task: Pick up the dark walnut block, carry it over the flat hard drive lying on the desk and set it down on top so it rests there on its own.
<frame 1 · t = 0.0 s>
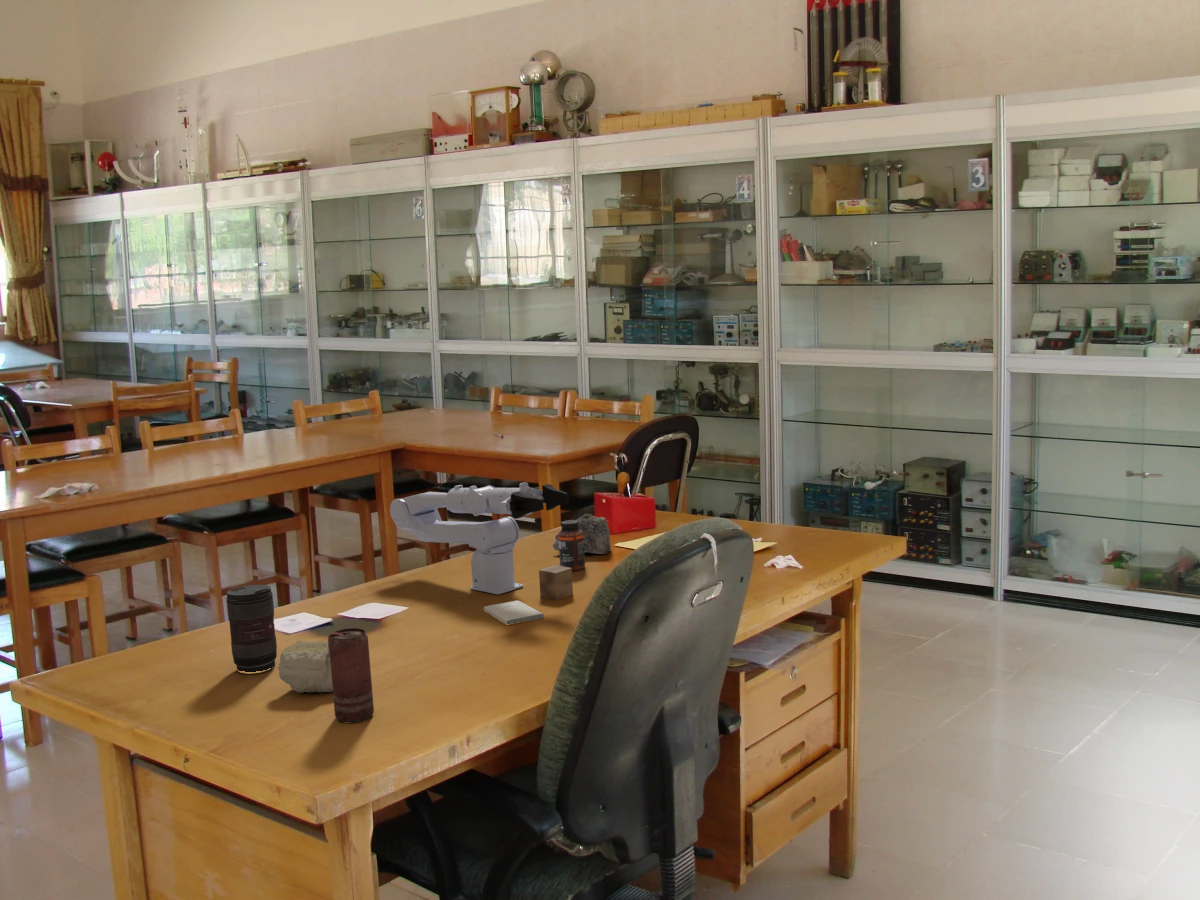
hand: (555, 501, 241), 22 cm above the table, tool horizontal, fingers open, 7 cm apart
can: (354, 717, 185), on the table
supplement bottle: (572, 569, 272), on the table
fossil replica: (317, 690, 199), on the table
external hard drive: (513, 617, 237), on the table
walnut block: (556, 595, 250), on the table
mineral rock: (584, 553, 287), on the table
camera lens: (256, 669, 211), on the table
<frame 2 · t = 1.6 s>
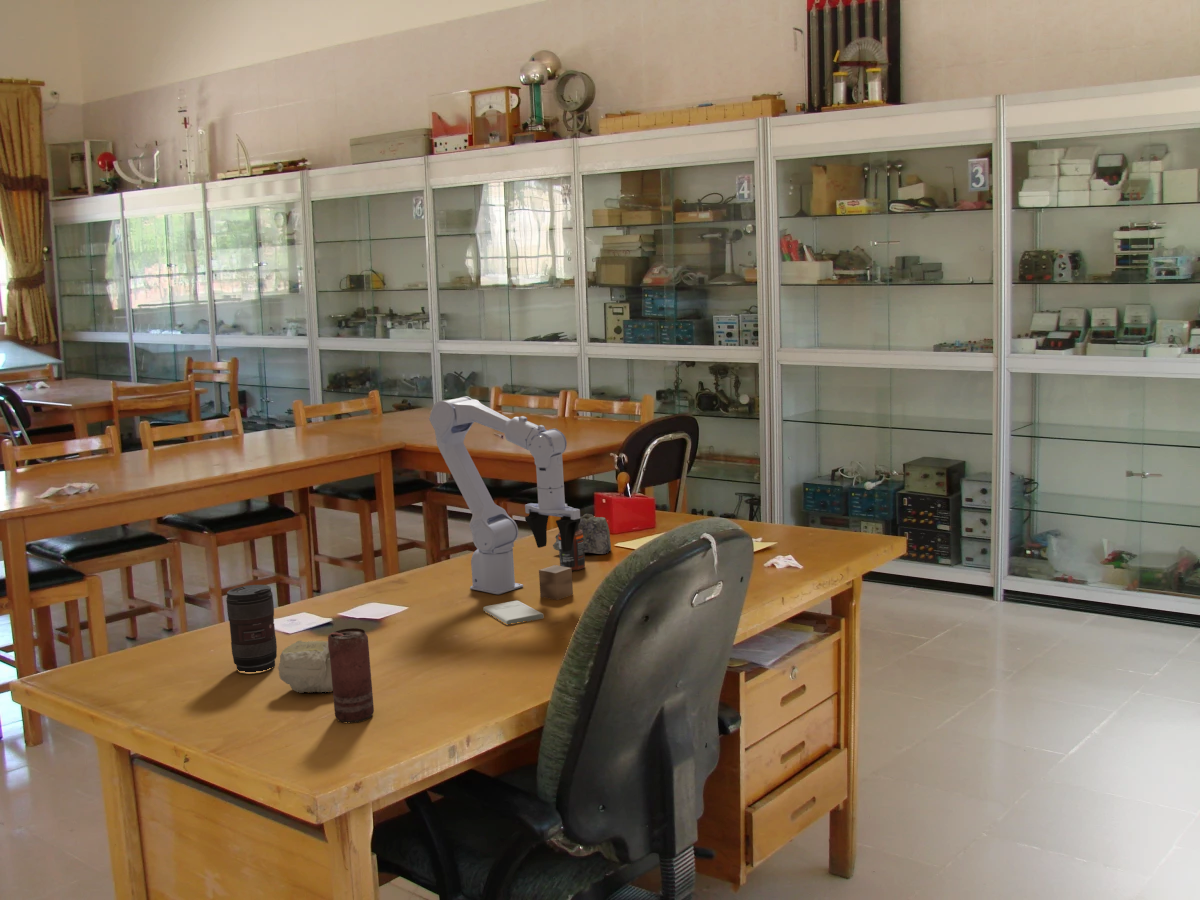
hand: (554, 548, 248), 10 cm above the table, tool pointing down, fingers open, 7 cm apart
nothing on the table moved.
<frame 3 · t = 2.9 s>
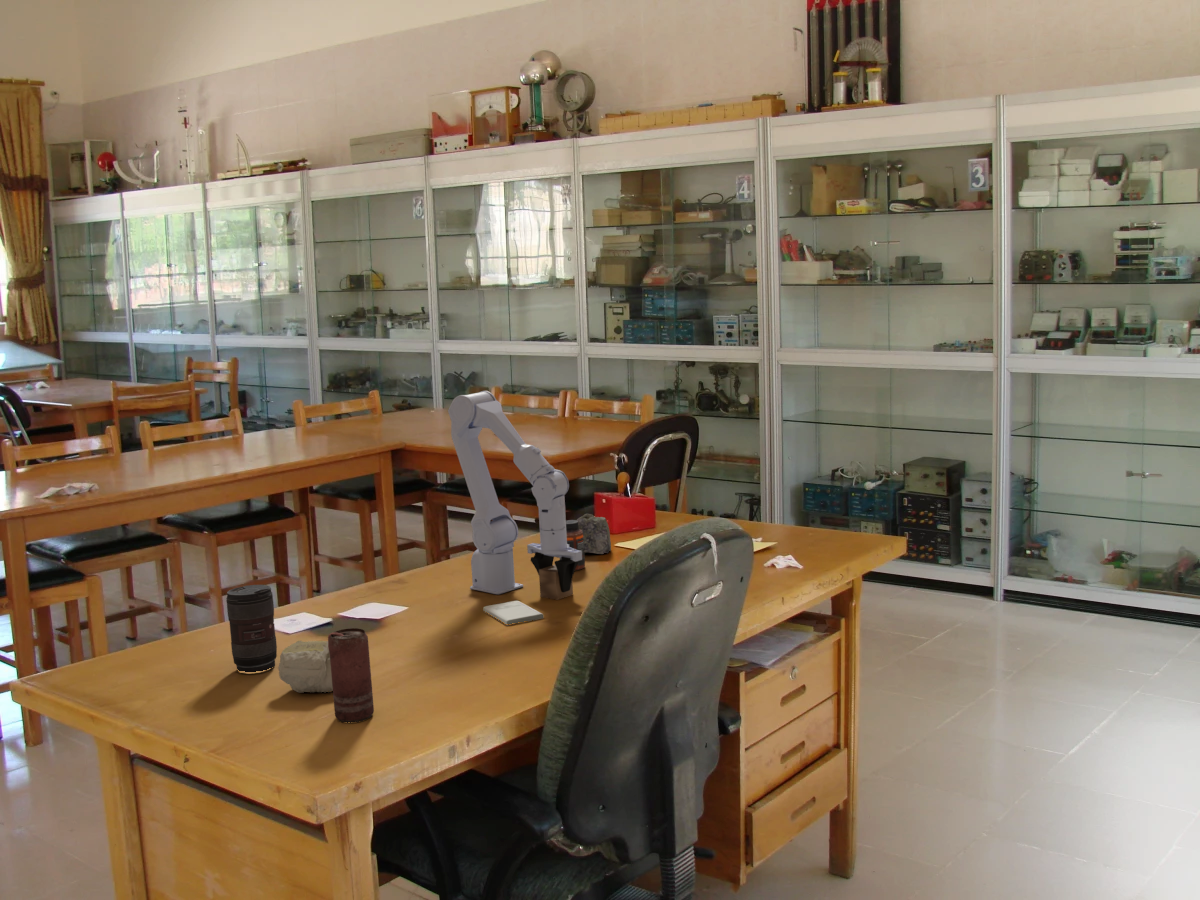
hand: (556, 589, 249), 1 cm above the table, tool pointing down, fingers closed on walnut block, 5 cm apart
walnut block: (556, 595, 250), on the table, touching gripper
everything else where it was.
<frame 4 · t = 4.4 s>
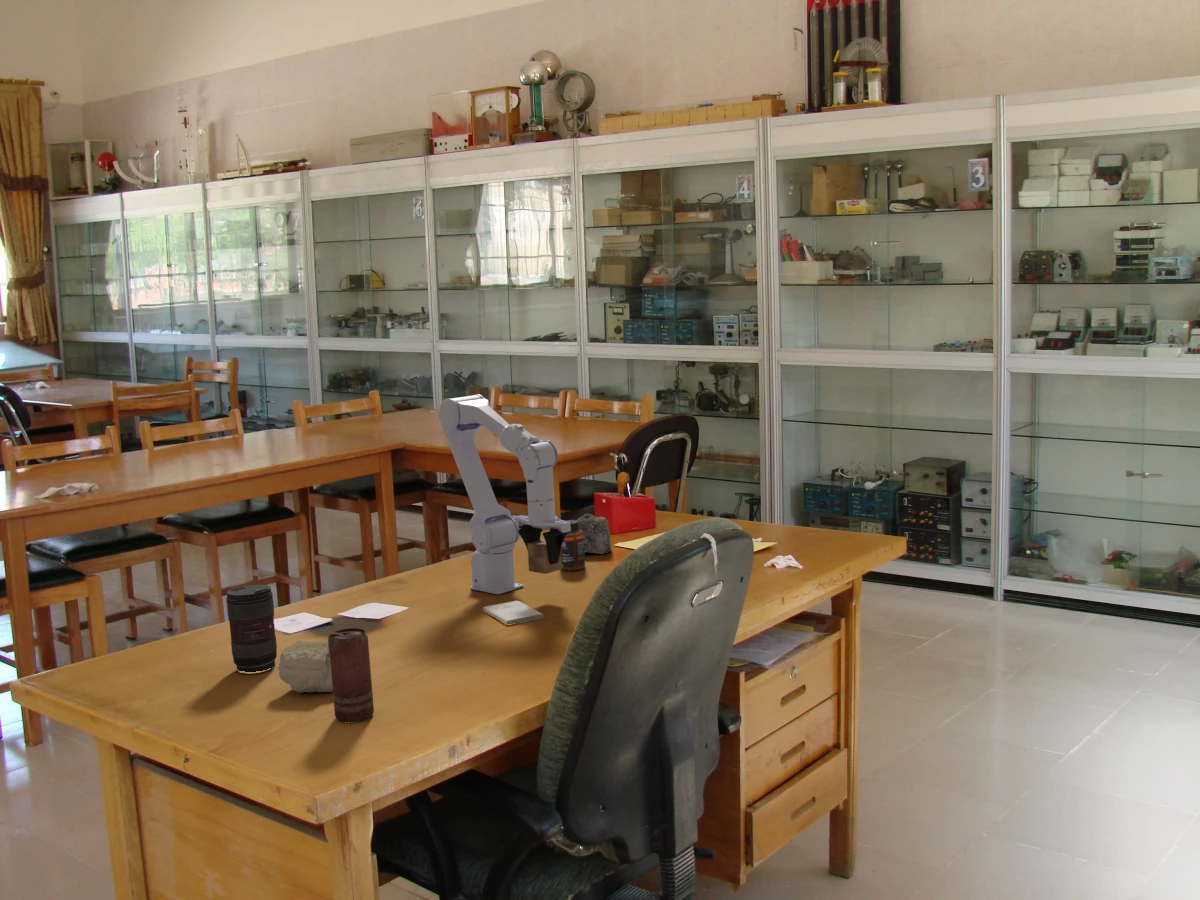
hand: (544, 561, 245), 8 cm above the table, tool pointing down, fingers closed on walnut block, 5 cm apart
walnut block: (545, 569, 246), point 7 cm above the table, touching gripper
everything else where it was.
when the fingers open (5 cm above the table, at t = 6.2 s): walnut block drops 2 cm, resting on external hard drive.
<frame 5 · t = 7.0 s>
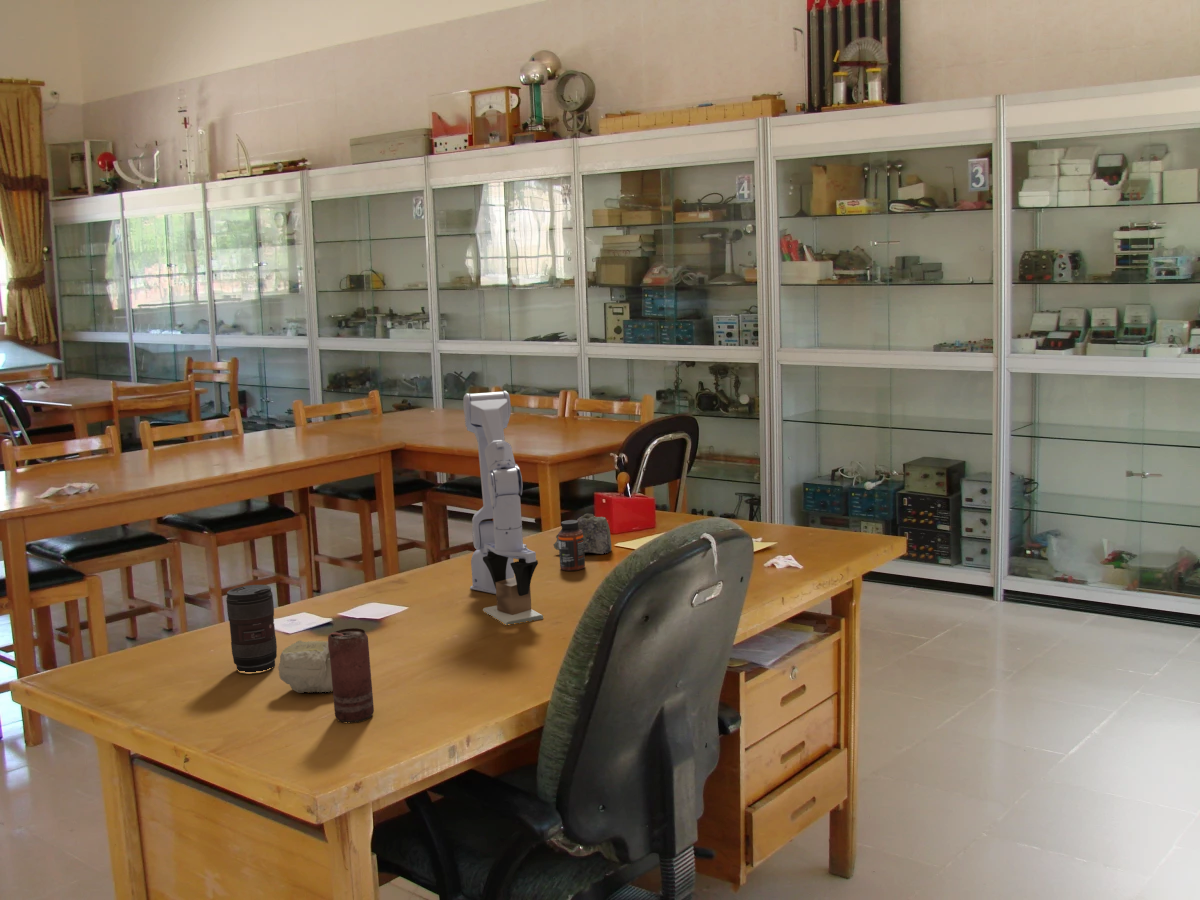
hand: (511, 591, 237), 5 cm above the table, tool pointing down, fingers open, 7 cm apart
external hard drive: (513, 619, 237), on the table, touching walnut block
walnut block: (514, 609, 237), point 1 cm above the table, touching external hard drive
everything else where it was.
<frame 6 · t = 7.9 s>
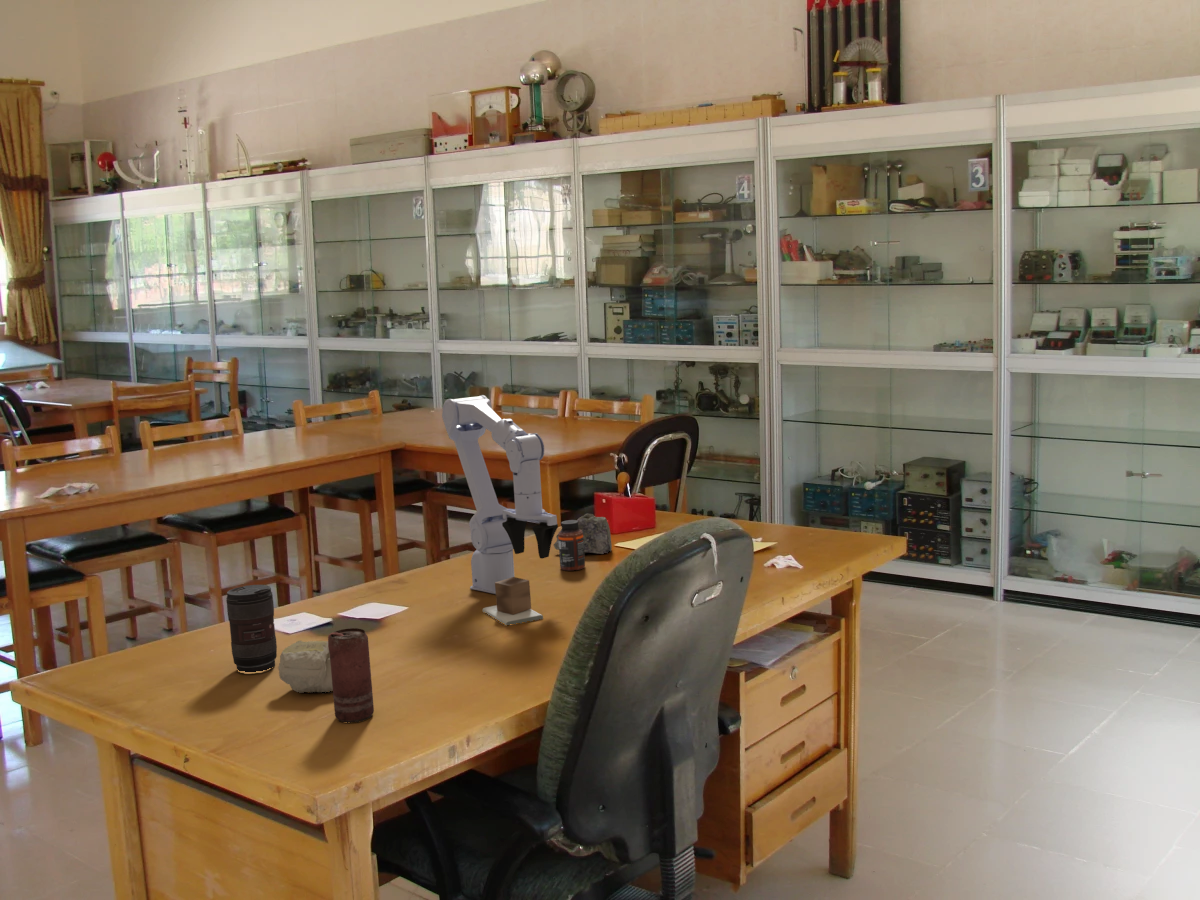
hand: (531, 555, 244), 10 cm above the table, tool pointing down, fingers open, 7 cm apart
nothing on the table moved.
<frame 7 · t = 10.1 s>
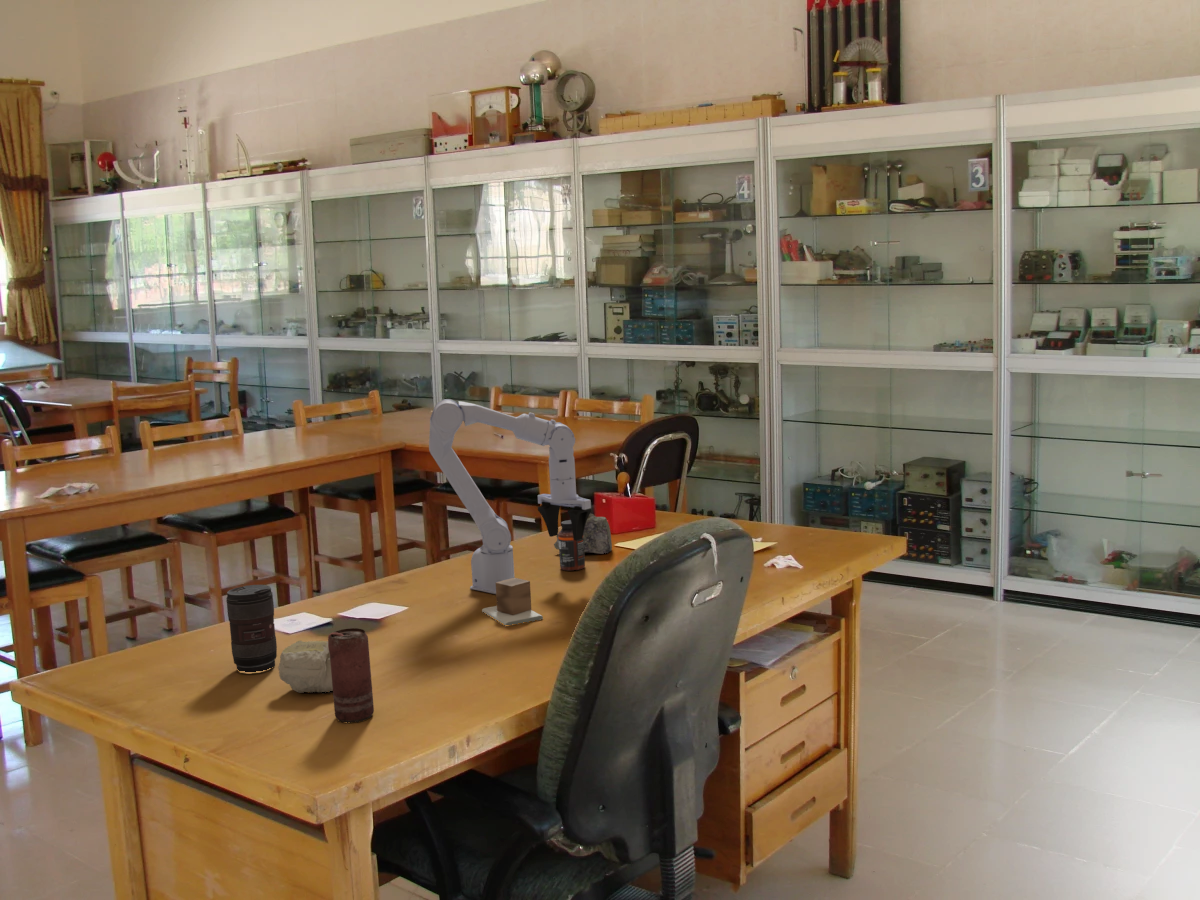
hand: (565, 537, 258), 10 cm above the table, tool pointing down, fingers open, 7 cm apart
external hard drive: (512, 619, 237), on the table
walnut block: (514, 610, 237), point 1 cm above the table
everything else where it was.
at the end: walnut block inside the target area on the external hard drive (0.8 cm from its centre), point 1.8 cm above the external hard drive's base; walnut block tilted 1°; the gripper is holding nothing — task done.
